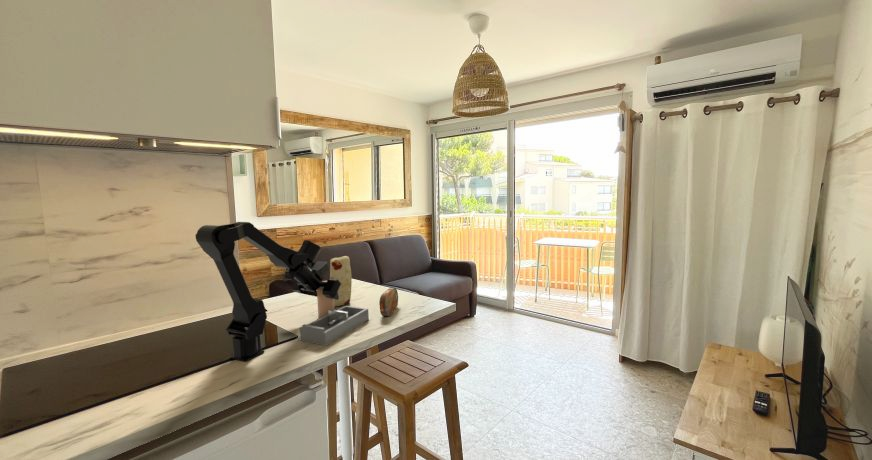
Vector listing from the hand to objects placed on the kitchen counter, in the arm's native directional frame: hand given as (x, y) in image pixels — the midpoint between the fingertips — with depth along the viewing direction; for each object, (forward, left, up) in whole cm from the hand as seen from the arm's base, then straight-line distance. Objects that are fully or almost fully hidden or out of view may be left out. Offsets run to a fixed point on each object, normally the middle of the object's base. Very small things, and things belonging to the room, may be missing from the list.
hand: (328, 297), depth 134 cm
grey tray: (-9, -11, -7) cm, 16 cm away
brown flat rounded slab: (+12, -19, -7) cm, 23 cm away
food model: (+13, +4, -7) cm, 15 cm away
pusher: (-10, -11, -6) cm, 16 cm away
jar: (-1, 0, -7) cm, 7 cm away
